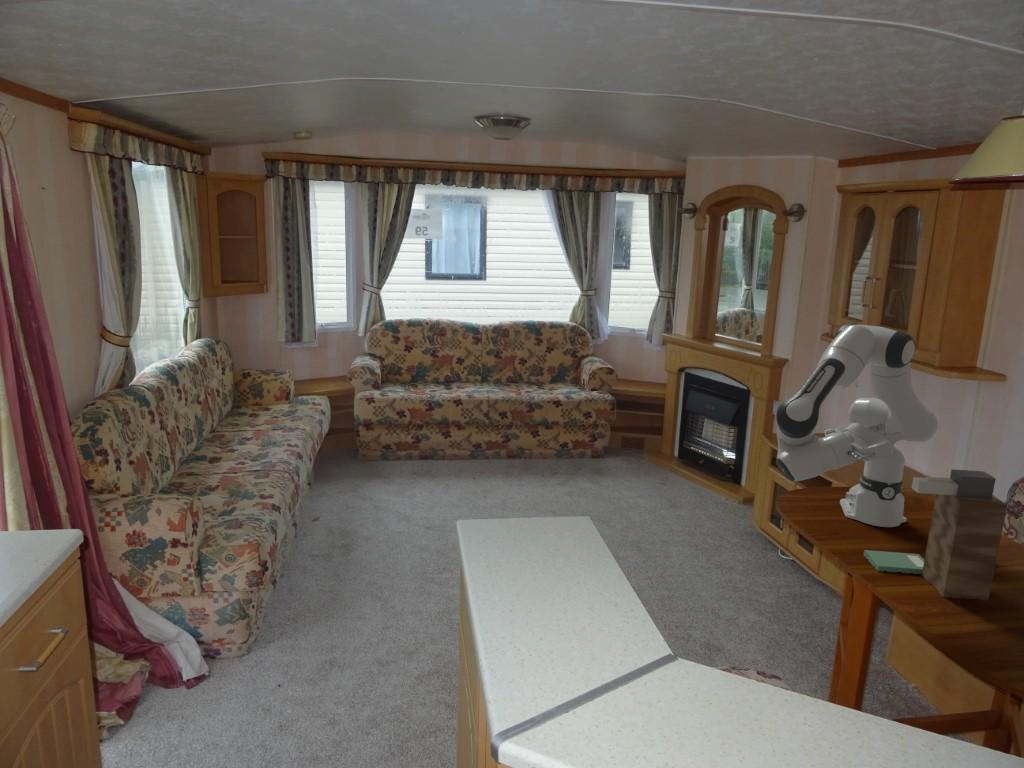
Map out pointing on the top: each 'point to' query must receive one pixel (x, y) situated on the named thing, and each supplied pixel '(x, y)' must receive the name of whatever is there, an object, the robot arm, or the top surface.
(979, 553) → the block
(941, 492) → the plug
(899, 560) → the board
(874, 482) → the robot arm
